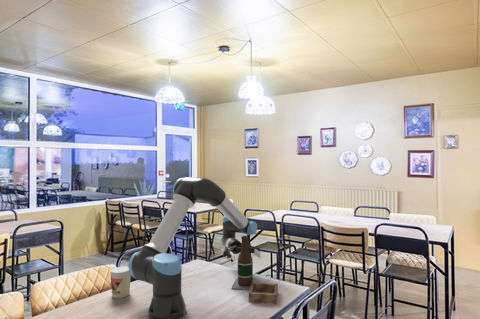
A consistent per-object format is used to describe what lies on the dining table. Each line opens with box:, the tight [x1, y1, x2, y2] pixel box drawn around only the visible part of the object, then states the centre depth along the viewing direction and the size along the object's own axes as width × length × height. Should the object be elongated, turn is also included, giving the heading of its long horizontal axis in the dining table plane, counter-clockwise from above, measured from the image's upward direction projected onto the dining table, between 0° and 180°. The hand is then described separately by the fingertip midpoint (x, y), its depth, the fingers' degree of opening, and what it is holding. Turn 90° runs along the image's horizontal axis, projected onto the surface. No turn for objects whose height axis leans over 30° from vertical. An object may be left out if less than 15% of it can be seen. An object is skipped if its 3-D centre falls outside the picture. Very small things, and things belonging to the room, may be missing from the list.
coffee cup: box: [109, 265, 132, 299], centre depth 150 cm, size 9×9×12 cm
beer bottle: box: [237, 235, 254, 286], centre depth 160 cm, size 8×8×24 cm
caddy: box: [248, 282, 279, 305], centre depth 146 cm, size 12×12×4 cm
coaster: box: [231, 278, 259, 291], centre depth 160 cm, size 12×12×1 cm
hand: (247, 256), depth 157 cm, fingers open, 13 cm apart
